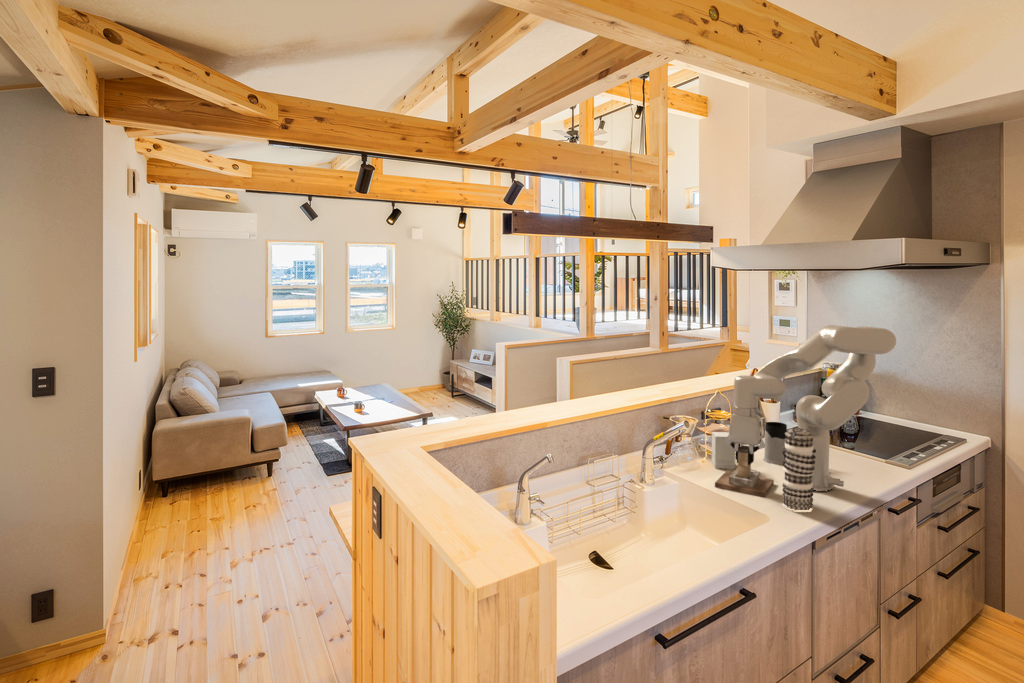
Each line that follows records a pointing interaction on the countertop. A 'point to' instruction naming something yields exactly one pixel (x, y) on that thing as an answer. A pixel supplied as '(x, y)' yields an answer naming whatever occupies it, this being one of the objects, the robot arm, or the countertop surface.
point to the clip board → (745, 483)
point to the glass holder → (774, 442)
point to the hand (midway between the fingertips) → (744, 462)
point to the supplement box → (722, 451)
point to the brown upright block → (743, 462)
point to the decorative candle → (798, 469)
